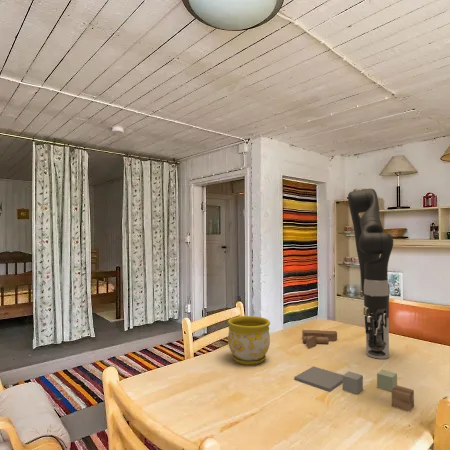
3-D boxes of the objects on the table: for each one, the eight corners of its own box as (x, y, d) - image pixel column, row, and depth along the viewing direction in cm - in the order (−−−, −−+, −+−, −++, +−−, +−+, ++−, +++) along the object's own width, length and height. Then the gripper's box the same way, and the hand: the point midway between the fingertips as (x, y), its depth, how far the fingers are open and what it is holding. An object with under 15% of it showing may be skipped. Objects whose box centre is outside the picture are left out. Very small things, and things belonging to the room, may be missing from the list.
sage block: (382, 383, 124) (382, 369, 125) (397, 387, 121) (396, 373, 121) (377, 387, 121) (377, 373, 121) (392, 392, 117) (392, 377, 117)
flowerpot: (221, 363, 142) (221, 323, 143) (236, 350, 159) (236, 314, 159) (263, 370, 136) (263, 328, 136) (274, 355, 152) (274, 318, 153)
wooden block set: (300, 327, 178) (336, 328, 176) (300, 338, 177) (336, 339, 176) (306, 337, 161) (345, 338, 160) (306, 349, 161) (345, 350, 159)
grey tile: (313, 368, 137) (313, 366, 137) (347, 379, 128) (347, 376, 128) (294, 379, 127) (294, 376, 127) (329, 391, 118) (329, 388, 118)
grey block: (348, 385, 123) (348, 371, 123) (362, 389, 119) (362, 375, 119) (342, 390, 119) (342, 375, 119) (357, 394, 116) (356, 379, 116)
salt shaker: (388, 357, 111) (388, 319, 111) (369, 355, 112) (368, 318, 112) (384, 350, 116) (383, 315, 116) (365, 349, 117) (365, 314, 118)
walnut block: (396, 400, 112) (396, 385, 112) (413, 406, 108) (413, 389, 108) (391, 406, 108) (391, 390, 108) (409, 412, 105) (408, 395, 105)
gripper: (372, 288, 122) (373, 336, 122) (356, 294, 112) (356, 346, 111) (395, 291, 117) (395, 341, 117) (380, 297, 106) (380, 352, 106)
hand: (376, 343), depth 114 cm, fingers closed on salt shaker, 6 cm apart
